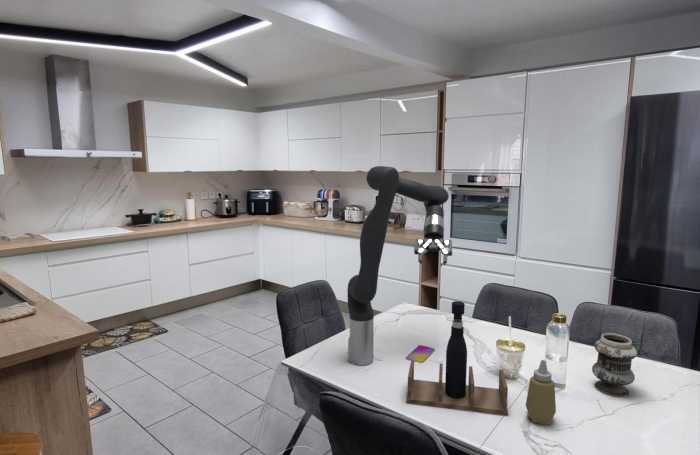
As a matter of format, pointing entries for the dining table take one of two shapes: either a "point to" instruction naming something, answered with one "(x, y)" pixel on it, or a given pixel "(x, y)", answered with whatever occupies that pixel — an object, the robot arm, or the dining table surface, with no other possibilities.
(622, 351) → the apothecary jar
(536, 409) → the squeeze bottle
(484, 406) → the slot rack
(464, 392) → the black bottle
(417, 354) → the smartphone
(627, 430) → the dining table surface
